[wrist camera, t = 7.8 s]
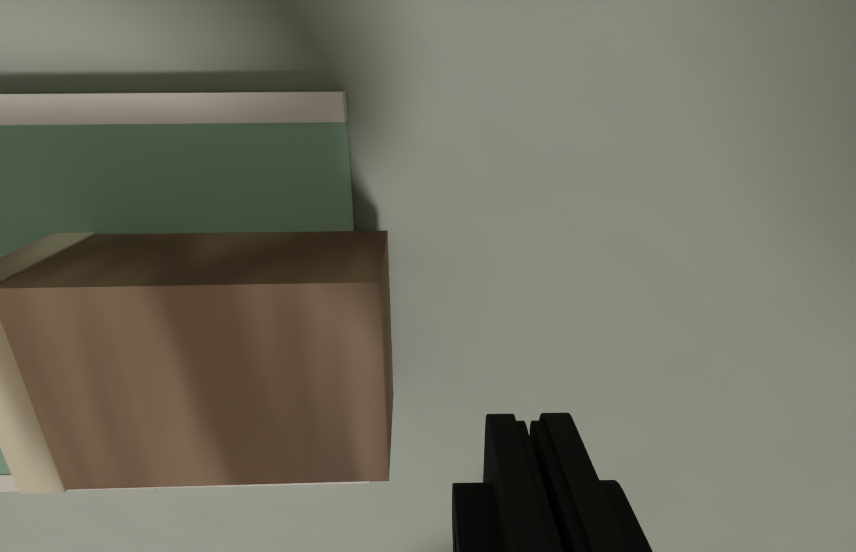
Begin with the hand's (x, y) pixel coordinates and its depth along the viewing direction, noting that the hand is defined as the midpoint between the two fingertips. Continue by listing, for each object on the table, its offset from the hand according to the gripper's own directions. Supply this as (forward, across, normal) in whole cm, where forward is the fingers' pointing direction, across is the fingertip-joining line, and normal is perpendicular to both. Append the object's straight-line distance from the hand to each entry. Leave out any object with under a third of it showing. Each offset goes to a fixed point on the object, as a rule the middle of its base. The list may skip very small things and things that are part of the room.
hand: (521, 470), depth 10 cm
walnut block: (+5, +3, 0) cm, 6 cm away
